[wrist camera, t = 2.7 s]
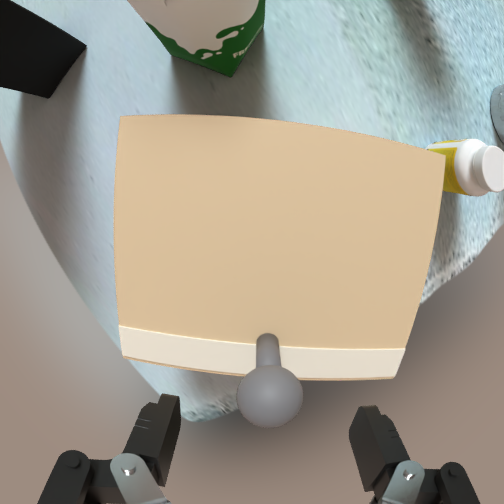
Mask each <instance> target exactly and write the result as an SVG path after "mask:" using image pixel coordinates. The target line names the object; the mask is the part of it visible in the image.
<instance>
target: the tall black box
mask: <svg viewBox="0 0 504 504" xmlns="http://www.w3.org/2000/svg"><path fill="white" fill-rule="evenodd" d="M86 46H87V45H85V44H84V43H82V42H81V41H79V40H78V39H76V38H74V37H73V36H71V35H70V34H68V33H66V32H65V31H63V30H62V29H60V28H58V27H57V26H56V25H53V24H52V23H50V22H48V21H47V20H45V19H43V18H41V17H40V16H38V15H36V14H34V13H33V12H31V11H29V10H27V9H26V8H24V7H22V6H20V5H18V4H16V3H14V2H13V1H11V0H0V87H3V88H8V89H12V90H16V91H21V92H25V93H29V94H33V95H37V96H41V97H44V98H50V96H51V95H52V93H53V92H54V90H55V89H56V87H57V85H58V84H59V83H60V81H61V80H62V78H63V77H64V75H65V74H66V72H67V71H68V70H69V68H70V67H71V66H72V64H73V63H74V62H75V60H76V59H77V58H78V56H79V55H80V54H81V52H82V51H83V50H84V49H85V47H86Z"/></svg>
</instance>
